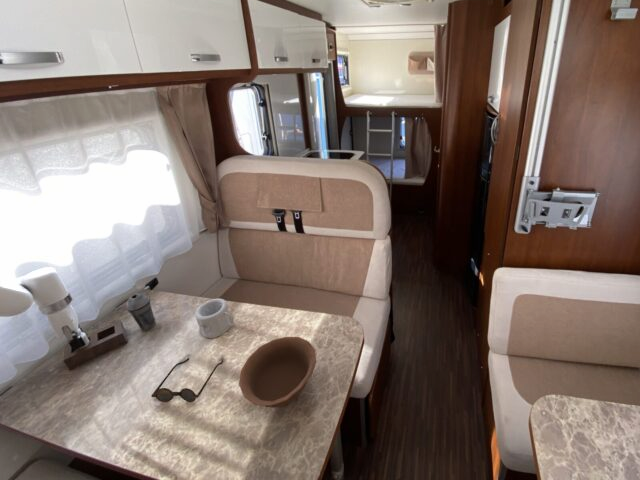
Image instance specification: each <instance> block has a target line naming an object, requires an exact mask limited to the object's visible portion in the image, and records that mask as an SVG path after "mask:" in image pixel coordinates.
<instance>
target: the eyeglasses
mask: <svg viewBox="0 0 640 480" xmlns="http://www.w3.org/2000/svg"><path fill="white" fill-rule="evenodd" d="M189 360H190V357H187V358H186V359H185V360H183V361H180V362H177V363H176V364H175V365H174V366H172V368H171V370H170V371H168V373H167V375H165V377H164V378H163V379H162V381H161V382H160V383H159V385H158V386H157V387H156V389H155V390H154V391H153V393H152V394H151V398H156V400H157V401H159V402H161V403H169V402H171V401H172V400H173V399H174V397H180V398H181V399H182V401H185V402H187V403H194V402H195V401H196V399H198V398H199V397H200V396H201V394H202V392H203V391H204V390H205V388H206V386H207V384H208V383H209V381H210V380H211V377H212V376H213V375H214V372H215V371H216V369H217V368H218V367H219V366H221V365H222V364H223V363H224V358H221V362H218V363H217V364H216V365H215V366H214V368H213V369H212V371H211V373H210V374H209V375H208V378H206V380H205V382H204V384H203V385H202V387H201V388H200V390H199V392H197V394H196V393H195V392H194V391H193V389H191V388H188V387H185V388H182V389H181V390H180V391H172V389H170V388H168V387H162V386H163V385H164V384H165V382H166V381H167V379H168V378H169V376H170V375H171V374H172V372H173V371H174V370H175V369H176V367H178V366H180V365H183V364H186V362H188V361H189Z"/></svg>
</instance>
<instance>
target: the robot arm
mask: <svg viewBox="0 0 640 480" xmlns="http://www.w3.org/2000/svg"><path fill="white" fill-rule="evenodd" d="M33 302H34V303H35V305H36V308H38V310H39V312H40V313H41V315H44V316H46V317H47V320H48V322H49V324H50V327H51V328H52V330H53V332H54V334H55V337H56V338H57V339H58V340H61V339H63V338H64V337H65V339H66V341H67V343H69V344H70V346H71V348H72V349H73V350H76V349H78V348H81V347H83V346H85V342H84V340H83V339H82V337H81V336H79V334H78V332H77V331H78V328H80V329H81V331H82V332H84V330H83V328H82V327H81V326H80V323H79V316H78V313H77V311H76V310H75V308H74V307H73V305H72V303H73V302H74V298H73V297H72V296H71V294H70V292H69V290H68V288H67V287H66V285H65V283H64V280H62V277H61V276H60V274H59V273H58V271H57V269H55V268H54V267H48V266H47V267H42V268H39V269H36V270H33V271H30V272H29V273H27V274H25V275H22V276H18V277H15V278H12V279H8V280H5V281H1V282H0V318H1V317H2V318H6V317H15V316H18V315H21V314H22V313H24V312H27V310H29V308H31V307H32V305H33ZM71 331H72V332H71ZM74 333H75V335H76V336H75V335H74V336H72V334H74Z"/></svg>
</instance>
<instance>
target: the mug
mask: <svg viewBox="0 0 640 480" xmlns="http://www.w3.org/2000/svg"><path fill="white" fill-rule="evenodd" d="M194 316H195V319H196V322H197V325H198V327H199V330H200V333H201V335H202V336H203V338H207V339H213V338H218V337H220V336H222V335H223V334H225V333H226V332H227V331H229V330H230V328H231V327H234V326H235V323H234V320H233V316H232V314H231V313H230V310H229V306H228V301H226V299H224V298H212V299H209V300H207V301H205V302H203V303H202V304H201V305H199V306H198V307H197V309H196V310H195V313H194Z"/></svg>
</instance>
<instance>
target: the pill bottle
mask: <svg viewBox="0 0 640 480" xmlns="http://www.w3.org/2000/svg"><path fill="white" fill-rule="evenodd" d="M80 328H81V327H80ZM80 328H78V331H77V332H78V334H79V336H81V337H82V339H83V340H84V342H85V346H83V347H81V348H78V349H76V350H74V352H75V351H77V350H80V349H82V348H84V347H86V346H88V345H90V341H89V339H88V338H87V336H86V335H87V334H86V333H85V332H84V331H83V332H82V331H81V329H80ZM71 332H72V331H71ZM74 335H75V333H74V334H72V336H74ZM75 336H76V335H75Z"/></svg>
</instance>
